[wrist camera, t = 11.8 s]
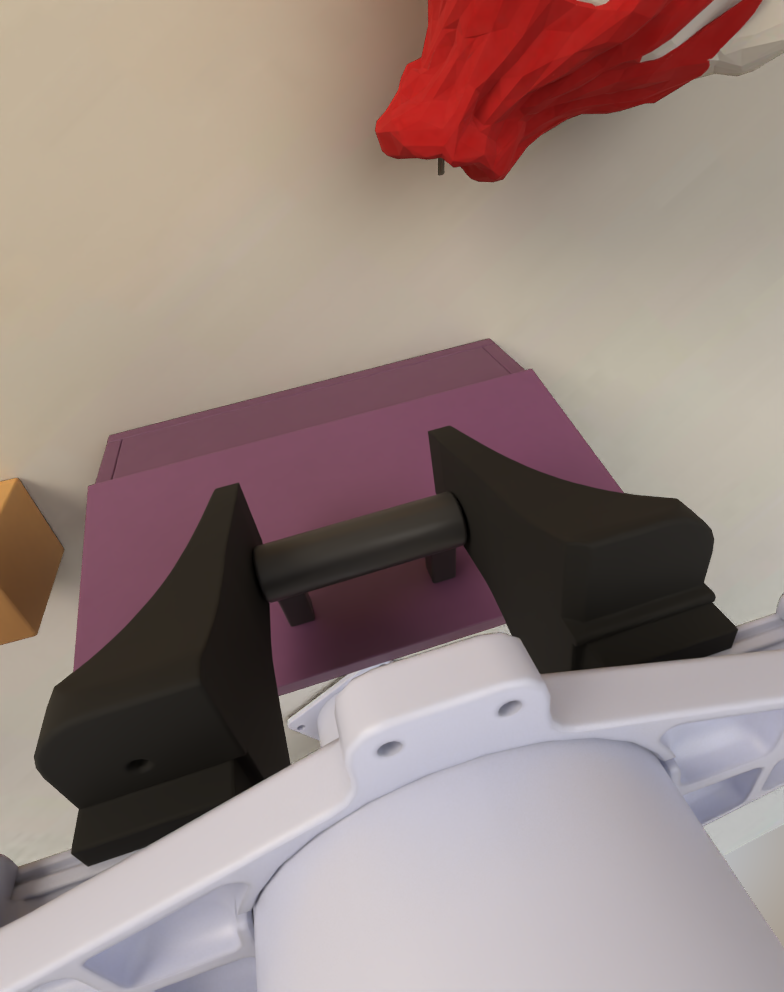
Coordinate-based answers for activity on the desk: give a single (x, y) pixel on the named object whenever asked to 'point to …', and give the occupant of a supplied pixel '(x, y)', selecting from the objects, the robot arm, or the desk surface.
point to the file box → (302, 408)
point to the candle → (558, 69)
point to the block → (24, 563)
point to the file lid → (333, 528)
